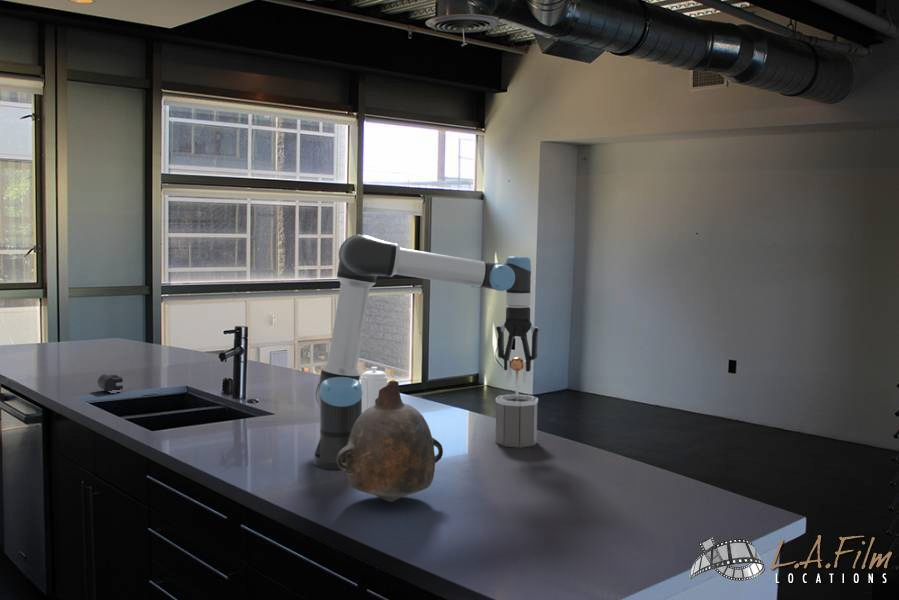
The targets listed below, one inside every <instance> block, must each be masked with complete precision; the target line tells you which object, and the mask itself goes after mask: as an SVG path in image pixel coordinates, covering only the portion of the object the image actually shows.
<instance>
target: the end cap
mask: <svg viewBox="0 0 899 600" xmlns="http://www.w3.org/2000/svg"><path fill="white" fill-rule="evenodd" d="M123 382H124V381H123V377H121V376H119V375H117V374H110V375H108V374H101V375H99V377H98V378H97V386H98V387H99V388H100V389H101V390H103V389H104V390H103V391H105V390H106V391H105V392H107V391H112V390H120V389H122V390H123V389H124V385H117V384H118V383H120V384H121V383H123Z"/></svg>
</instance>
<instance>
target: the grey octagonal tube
mask: <svg viewBox="0 0 899 600" xmlns="http://www.w3.org/2000/svg"><path fill="white" fill-rule="evenodd" d="M538 403H539V398H538V397H536V396H533V395H528V394H519V397H518V401H515V393H512V394H501V395H498V396H497V397H495V406H496V407H495V443H496V444H498V445H499V446H502V447H508V448H516V449H517V448H529V447H533V446H535V445H537V441H538V440H537V439H538V438H537V437H538V434H537V433H538Z"/></svg>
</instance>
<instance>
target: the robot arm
mask: <svg viewBox="0 0 899 600" xmlns="http://www.w3.org/2000/svg"><path fill="white" fill-rule="evenodd" d="M338 260H339V261H338V267H337V272H336V279H337V280H338V281H339V283H340V285H339V292H338V298H337V304H336V309H335V310H336V311H335V316H334V317H335V318H334V323H333V329H332V336H331V340H330V347H329V352H328V358H327V359H328V360H327V363H326V364H325V365H324V366H322V367H321V369H320V375H319V382H318V384H317V386H316V389H315V400H316V402H317V405H318V406H319V414H320V415H319V420H320V422H319V428H320V429H319V430H320V431H319V432H320V434H319V440H318V442H317V445H316V448H315V452H314V454H313V465H314V466H316V467H318V468H321V469H326V470H333V471H334V470H335V471H336V470H341V469H340V468H339V467H338V465H337V462H336V459H337V455H338V453H339V451H340V450H341V449H343V448H344V447H345V446H347V445H348V441H349V437H350V433H351V430H352V428H353V426H354V424H355V422H356V420H357V419H358V417H359V416H360V415H361V414H362V394H363V392H362V386H361V381H360V380H361V373H360V371H359V370H358V368H357V367H358V360H359V353H360V348H361V341H362V337H363V336H362V335H363V329H364V323H365V317H366V311H367V305H368V299H369V294H370V289H371V288H372V287H373V286H374V285H376V283H377V277H379V276H380V277H386V278H387V277H389V278H392V277H393V276H395V275H398V276H403V277H411V278H418V279H425V280H430V281H437V282H446V283H450V284H458V285H465V286H470V287H471V288H478V289H481V288H483V289H490V290H495V291H499V292H503V291H505V292H506V296H505V305H506V306H507V307H506V308H505V322H504V324H501V325H498V326H496V328H495V330H496V332H497V356H498V358H500V359H502V360H503V369H504V371H506V382H510V381H512V372H513V371H512V370H513V369H512V368H511V366H510V362H511V360H512V359H511V358H510V356H511V353H512V348H513V344H514V340H515V337H519V338H520V341H521V344H522V347H523V348H522V349H523V353H524V358H525V360H523V369H522V383H527V382H528V373H529V372H530V371H531V369H532V367H531V366H532V364H531V363H532V361H533V360H536V359H537V357H538V337H539V332H540V330H541V329H540V327H539V326H534V325H532V322H531V308H530V307H529V306H531V299H532V298H531V285H532V282H531V281H532V264H531V263H532V262H531V258H530V257H528V256H508V257H506V261H505V262H502V263H501V262H488V261H482V260H476V259H471V258H464V257H459V256H451V255H445V254H439V253H433V252H428V251H422V250H415V249H412V248H403V247H399V245H398V243H394V242H389V241H385V240H383V239H379V238H376V237H373V236H370V235H366V234H355V235H352V236H349V237H347V238H346V239H345V240H344V241H343V242H342V243H341V245H340V247H339V250H338ZM530 330H531V331H530ZM505 331H506V332H507V333H508V337H507V338H508V339H507V343H506V347H505V341H504V340H505V337H504V336H505V334H504V332H505ZM529 331H530V332H531V334H532V335H531V349H530V346H529V345H530V344H529V340H528V335H527V334H528V333H529ZM504 347H505V348H504ZM530 350H531V351H530ZM342 463H346V455H344V456H343V457H342ZM341 471H342V470H341Z"/></svg>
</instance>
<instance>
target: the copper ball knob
mask: <svg viewBox="0 0 899 600" xmlns="http://www.w3.org/2000/svg"><path fill="white" fill-rule="evenodd" d="M510 360H511V362H510V366H511V368H512V370H513V371H514V372H515V388H514V389H515V391H514V392H515V393H514V394H515V401H518V397H519V395H520V394H519V393H520V392H519V387H520V384H519V383H520V381H519V380H520V379H519V378H520V372H521V371H523V361H524V359H523V358H522V357H520V356H516V357H513V358H512V359H510Z"/></svg>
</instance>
